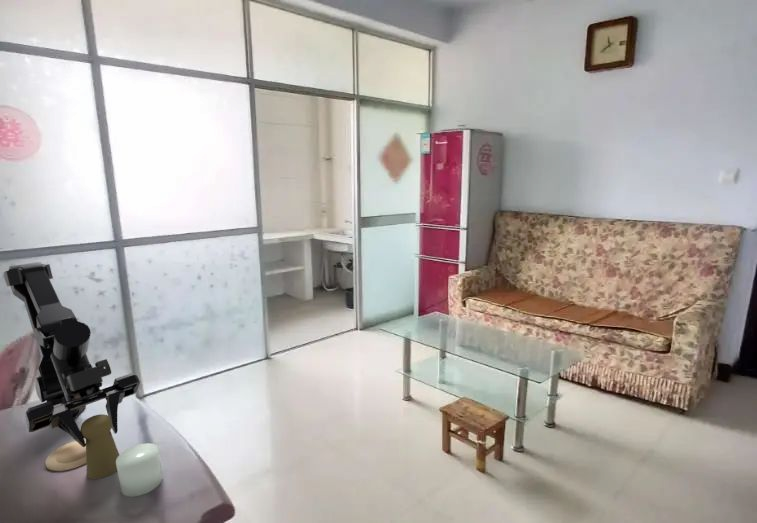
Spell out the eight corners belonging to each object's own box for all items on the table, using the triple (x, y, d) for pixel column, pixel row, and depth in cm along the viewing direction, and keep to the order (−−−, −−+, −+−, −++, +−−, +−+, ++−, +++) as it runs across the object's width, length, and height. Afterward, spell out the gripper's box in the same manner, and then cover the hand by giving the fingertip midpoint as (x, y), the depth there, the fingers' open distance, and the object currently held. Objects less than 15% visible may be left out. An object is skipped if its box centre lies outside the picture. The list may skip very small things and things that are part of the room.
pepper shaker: (105, 480, 83) (95, 429, 80) (78, 477, 84) (68, 426, 82) (129, 459, 89) (120, 411, 86) (103, 456, 90) (94, 408, 87)
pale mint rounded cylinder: (129, 473, 85) (124, 446, 83) (167, 468, 86) (163, 441, 85) (114, 499, 78) (109, 470, 77) (156, 493, 79) (151, 464, 78)
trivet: (62, 443, 95) (61, 440, 95) (111, 437, 96) (111, 434, 96) (35, 474, 85) (34, 471, 85) (90, 467, 87) (90, 464, 87)
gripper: (15, 369, 77) (42, 449, 72) (129, 336, 90) (158, 402, 85) (16, 394, 84) (41, 469, 79) (122, 361, 97) (148, 423, 92)
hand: (100, 439), depth 84 cm, fingers closed on pepper shaker, 5 cm apart
